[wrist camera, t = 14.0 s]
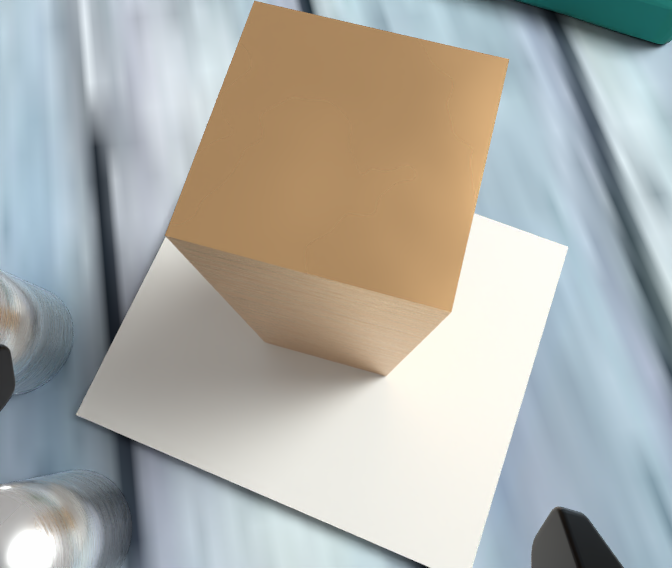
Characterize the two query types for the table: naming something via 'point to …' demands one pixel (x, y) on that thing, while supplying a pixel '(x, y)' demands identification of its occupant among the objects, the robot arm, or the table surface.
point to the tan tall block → (339, 184)
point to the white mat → (341, 399)
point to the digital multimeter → (619, 15)
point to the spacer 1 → (33, 331)
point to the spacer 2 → (64, 522)
